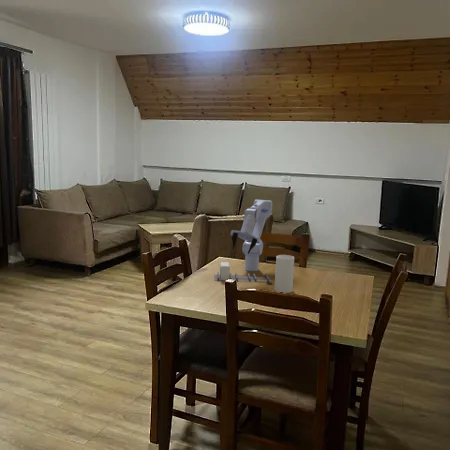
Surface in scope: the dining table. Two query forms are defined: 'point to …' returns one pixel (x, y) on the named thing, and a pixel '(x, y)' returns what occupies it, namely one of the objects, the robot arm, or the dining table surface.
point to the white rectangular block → (224, 271)
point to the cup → (284, 273)
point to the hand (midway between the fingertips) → (241, 250)
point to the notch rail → (246, 278)
